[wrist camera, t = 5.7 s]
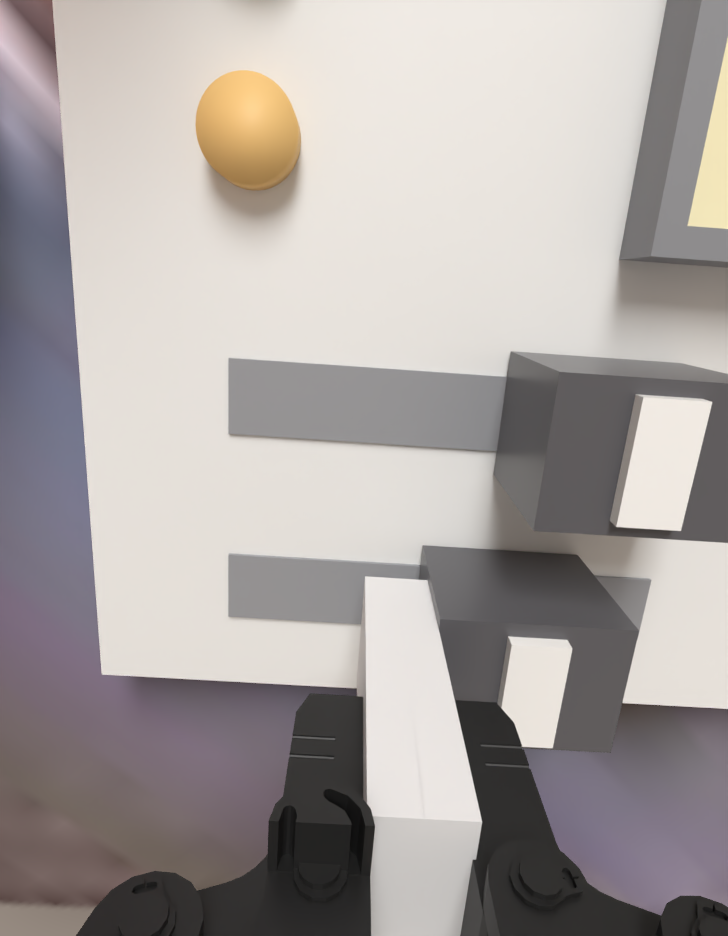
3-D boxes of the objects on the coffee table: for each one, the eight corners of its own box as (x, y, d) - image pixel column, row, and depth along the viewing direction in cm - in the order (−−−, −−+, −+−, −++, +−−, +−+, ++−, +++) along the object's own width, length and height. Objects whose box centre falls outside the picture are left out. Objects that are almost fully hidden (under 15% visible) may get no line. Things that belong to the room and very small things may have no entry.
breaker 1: (493, 474, 14) (538, 537, 11) (510, 351, 14) (565, 373, 10) (653, 484, 14) (751, 550, 11) (681, 363, 14) (797, 390, 10)
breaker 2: (411, 647, 16) (426, 753, 12) (422, 545, 15) (442, 627, 11) (558, 655, 16) (616, 763, 12) (577, 554, 15) (646, 639, 11)
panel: (129, 633, 18) (76, 712, 15) (82, -201, 12) (-23, -385, 9) (827, 672, 19) (928, 757, 15) (1101, -109, 13) (1363, -250, 9)
